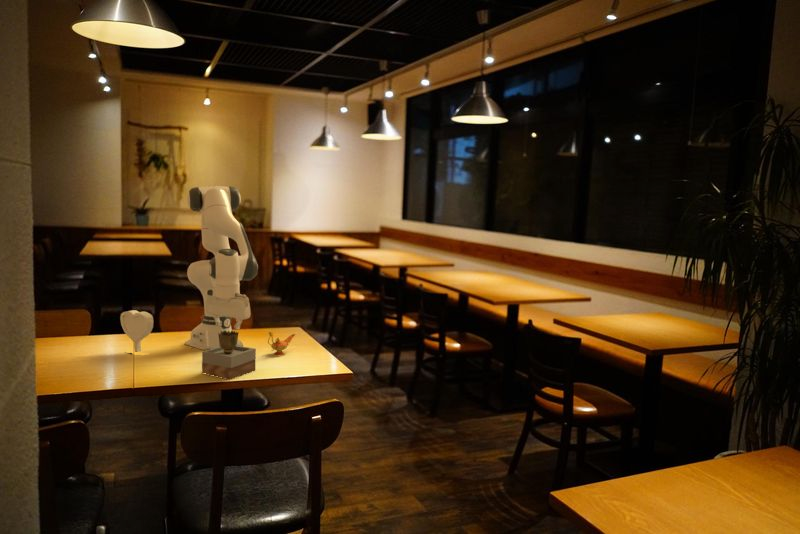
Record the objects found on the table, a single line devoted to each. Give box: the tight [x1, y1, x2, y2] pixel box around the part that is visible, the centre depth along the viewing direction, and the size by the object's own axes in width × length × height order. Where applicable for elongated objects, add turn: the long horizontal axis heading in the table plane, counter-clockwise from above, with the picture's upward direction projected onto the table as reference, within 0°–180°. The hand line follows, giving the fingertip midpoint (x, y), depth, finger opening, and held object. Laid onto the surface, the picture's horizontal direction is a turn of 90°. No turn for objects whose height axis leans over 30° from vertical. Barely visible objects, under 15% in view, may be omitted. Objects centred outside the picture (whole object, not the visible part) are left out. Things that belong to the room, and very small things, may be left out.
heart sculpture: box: [119, 309, 154, 352], centre depth 253 cm, size 16×5×18 cm, turn 65°
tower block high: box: [201, 346, 257, 368], centre depth 230 cm, size 14×14×4 cm
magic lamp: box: [267, 331, 296, 356], centre depth 259 cm, size 7×18×11 cm, turn 151°
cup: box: [218, 330, 239, 354], centre depth 229 cm, size 8×7×8 cm
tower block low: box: [201, 359, 256, 380], centre depth 230 cm, size 14×14×5 cm
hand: (227, 327), depth 229 cm, fingers open, 8 cm apart
